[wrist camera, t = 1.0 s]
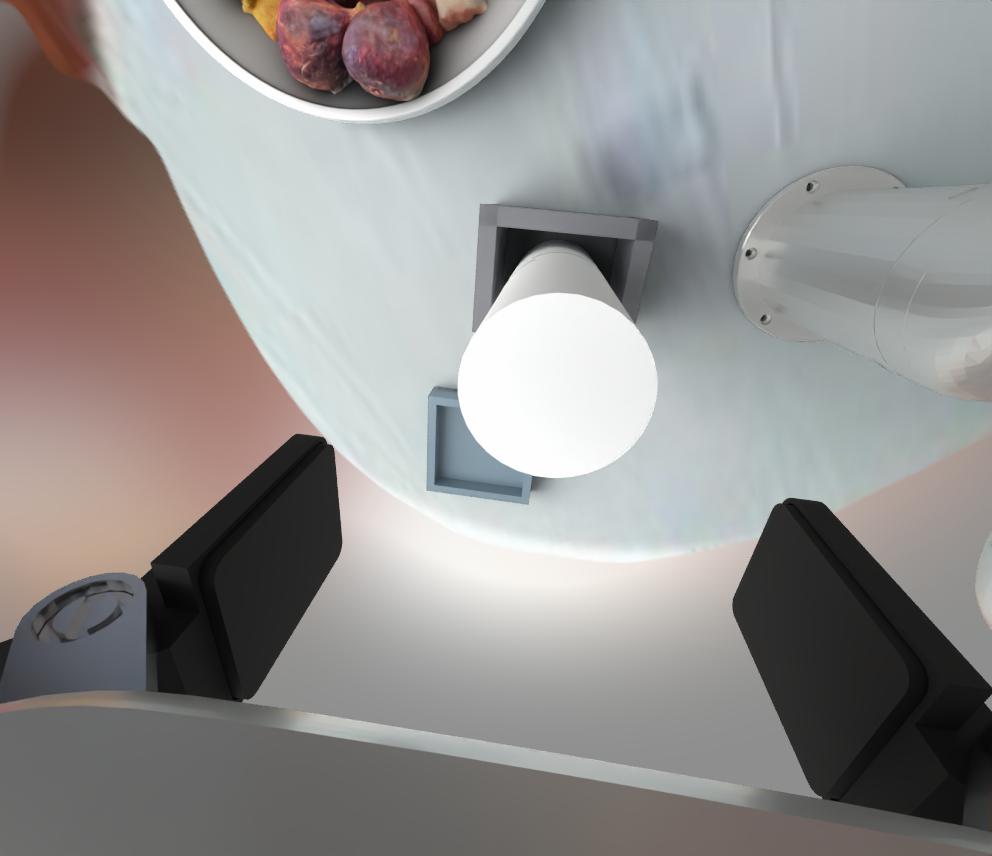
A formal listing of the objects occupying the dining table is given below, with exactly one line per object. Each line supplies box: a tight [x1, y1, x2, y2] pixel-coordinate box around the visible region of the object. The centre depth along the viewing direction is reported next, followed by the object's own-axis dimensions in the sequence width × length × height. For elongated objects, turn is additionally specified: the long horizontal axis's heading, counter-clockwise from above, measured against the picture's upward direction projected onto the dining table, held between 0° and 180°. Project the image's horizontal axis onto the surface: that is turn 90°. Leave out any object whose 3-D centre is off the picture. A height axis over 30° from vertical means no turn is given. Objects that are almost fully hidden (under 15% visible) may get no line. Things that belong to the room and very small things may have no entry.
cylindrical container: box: [458, 240, 657, 478], centre depth 27 cm, size 7×7×25 cm
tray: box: [427, 387, 533, 504], centre depth 45 cm, size 11×11×2 cm
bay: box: [472, 204, 658, 332], centre depth 34 cm, size 11×8×8 cm
